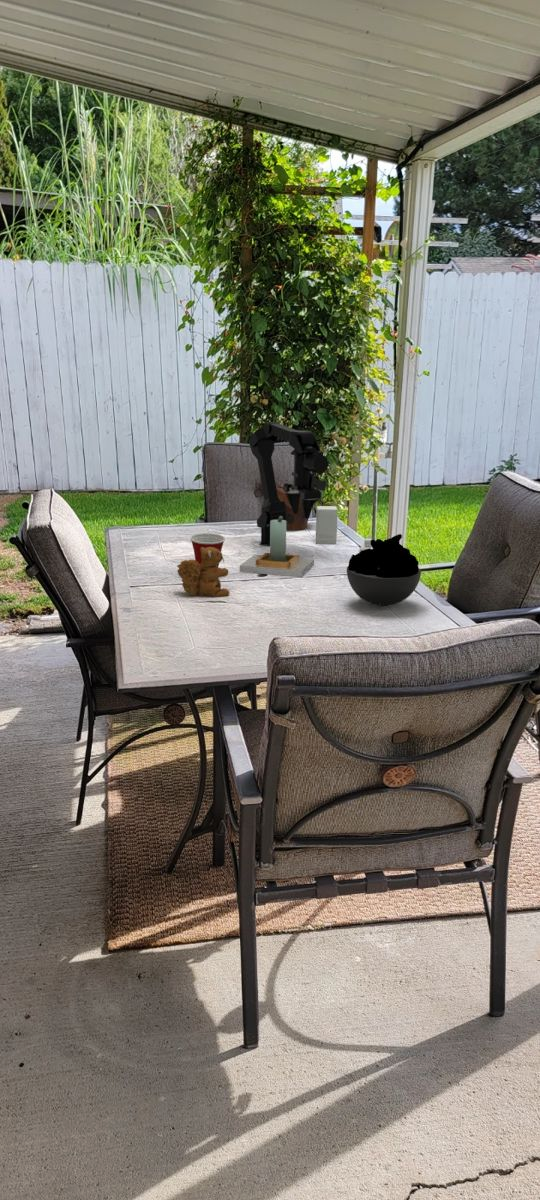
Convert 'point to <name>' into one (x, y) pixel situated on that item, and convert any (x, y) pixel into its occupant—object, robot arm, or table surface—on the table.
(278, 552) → the spout can
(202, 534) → the plastic cup
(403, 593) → the coal bowl
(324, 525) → the supplement box
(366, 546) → the eye dropper bottle
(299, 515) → the brown wooden pot
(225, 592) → the stuffed squirrel
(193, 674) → the table surface
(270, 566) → the grey flat block
